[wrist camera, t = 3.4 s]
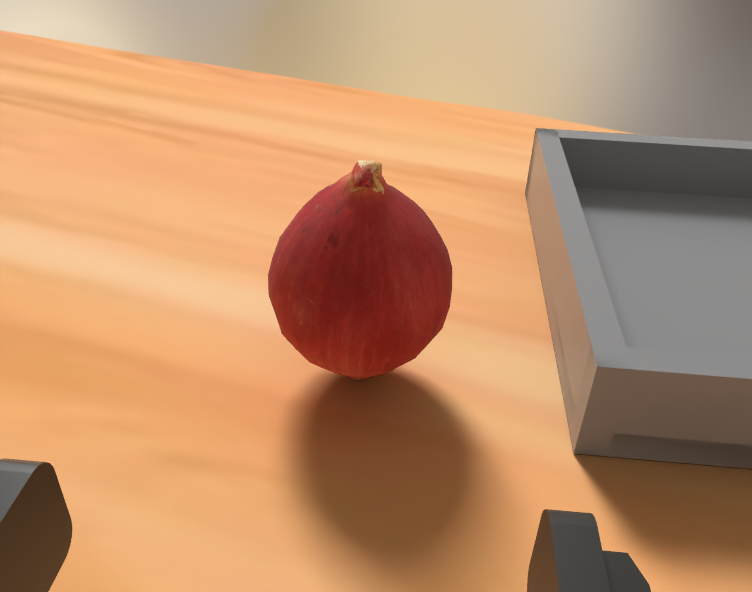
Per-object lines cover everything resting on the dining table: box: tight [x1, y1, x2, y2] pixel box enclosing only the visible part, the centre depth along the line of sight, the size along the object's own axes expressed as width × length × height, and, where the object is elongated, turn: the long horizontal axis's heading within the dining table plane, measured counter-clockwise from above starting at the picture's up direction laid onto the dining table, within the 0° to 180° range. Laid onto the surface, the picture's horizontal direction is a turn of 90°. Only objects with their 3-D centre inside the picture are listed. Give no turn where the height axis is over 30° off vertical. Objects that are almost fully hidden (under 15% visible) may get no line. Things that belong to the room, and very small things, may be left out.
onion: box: [268, 160, 452, 380], centre depth 22 cm, size 6×6×8 cm
